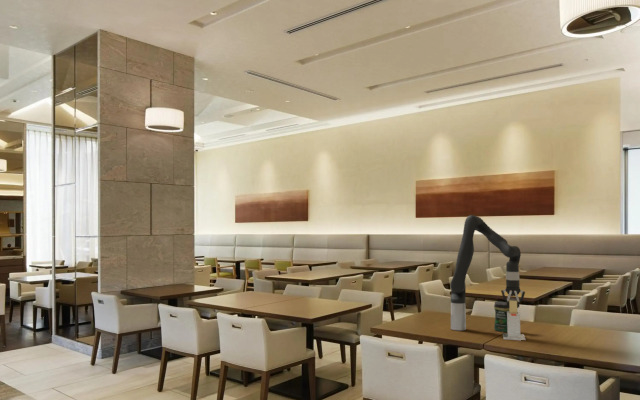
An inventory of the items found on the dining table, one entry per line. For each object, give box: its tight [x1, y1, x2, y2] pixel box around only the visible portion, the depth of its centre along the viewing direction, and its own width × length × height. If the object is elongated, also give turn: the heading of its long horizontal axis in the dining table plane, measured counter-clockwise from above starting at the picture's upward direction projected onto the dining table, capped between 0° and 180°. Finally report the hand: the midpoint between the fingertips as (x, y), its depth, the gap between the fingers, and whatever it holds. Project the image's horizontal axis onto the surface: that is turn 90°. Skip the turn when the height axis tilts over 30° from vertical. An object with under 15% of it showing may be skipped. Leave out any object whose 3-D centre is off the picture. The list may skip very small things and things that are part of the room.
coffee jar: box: [493, 301, 509, 333], centre depth 307 cm, size 10×8×19 cm
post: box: [509, 297, 518, 313], centre depth 288 cm, size 4×4×21 cm
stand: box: [502, 311, 526, 341], centre depth 287 cm, size 12×12×15 cm
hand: (513, 307), depth 288 cm, fingers closed on post, 4 cm apart
